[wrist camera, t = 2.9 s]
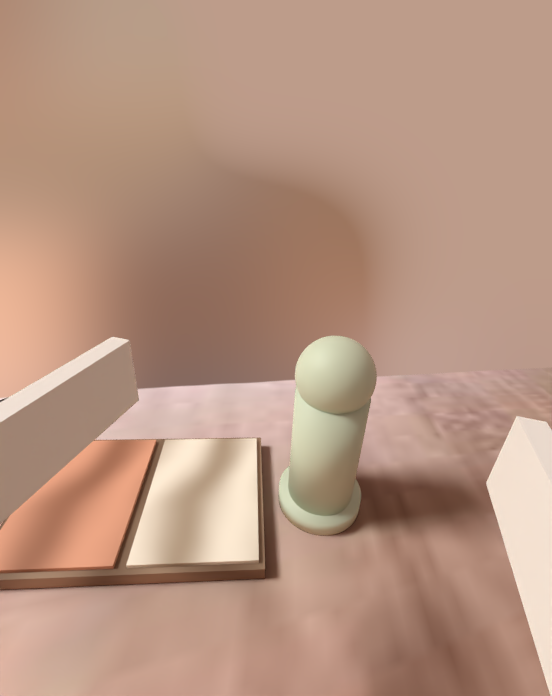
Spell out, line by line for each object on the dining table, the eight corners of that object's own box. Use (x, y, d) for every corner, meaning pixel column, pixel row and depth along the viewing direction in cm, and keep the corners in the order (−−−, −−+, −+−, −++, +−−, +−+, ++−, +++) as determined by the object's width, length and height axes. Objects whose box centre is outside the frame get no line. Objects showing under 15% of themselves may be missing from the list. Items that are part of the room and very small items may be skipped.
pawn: (373, 496, 29) (411, 340, 22) (329, 553, 24) (359, 380, 18) (310, 456, 32) (326, 312, 26) (262, 499, 28) (266, 339, 21)
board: (260, 445, 33) (260, 435, 33) (264, 578, 23) (265, 566, 22) (62, 448, 32) (58, 437, 31) (-32, 591, 21) (-41, 578, 21)
